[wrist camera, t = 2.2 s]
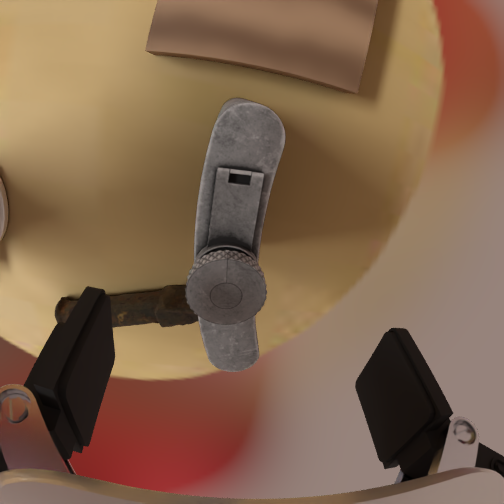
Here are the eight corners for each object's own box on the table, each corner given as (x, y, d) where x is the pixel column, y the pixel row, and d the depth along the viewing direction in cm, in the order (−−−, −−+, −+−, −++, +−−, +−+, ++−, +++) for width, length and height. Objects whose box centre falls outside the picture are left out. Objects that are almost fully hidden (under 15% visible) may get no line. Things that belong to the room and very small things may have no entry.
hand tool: (74, 318, 35) (61, 343, 31) (62, 292, 33) (47, 317, 29) (221, 306, 35) (221, 334, 31) (215, 276, 34) (215, 304, 29)
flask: (206, 246, 31) (192, 401, 16) (212, 96, 25) (185, 101, 9) (243, 247, 32) (260, 402, 16) (255, 98, 25) (302, 108, 9)
